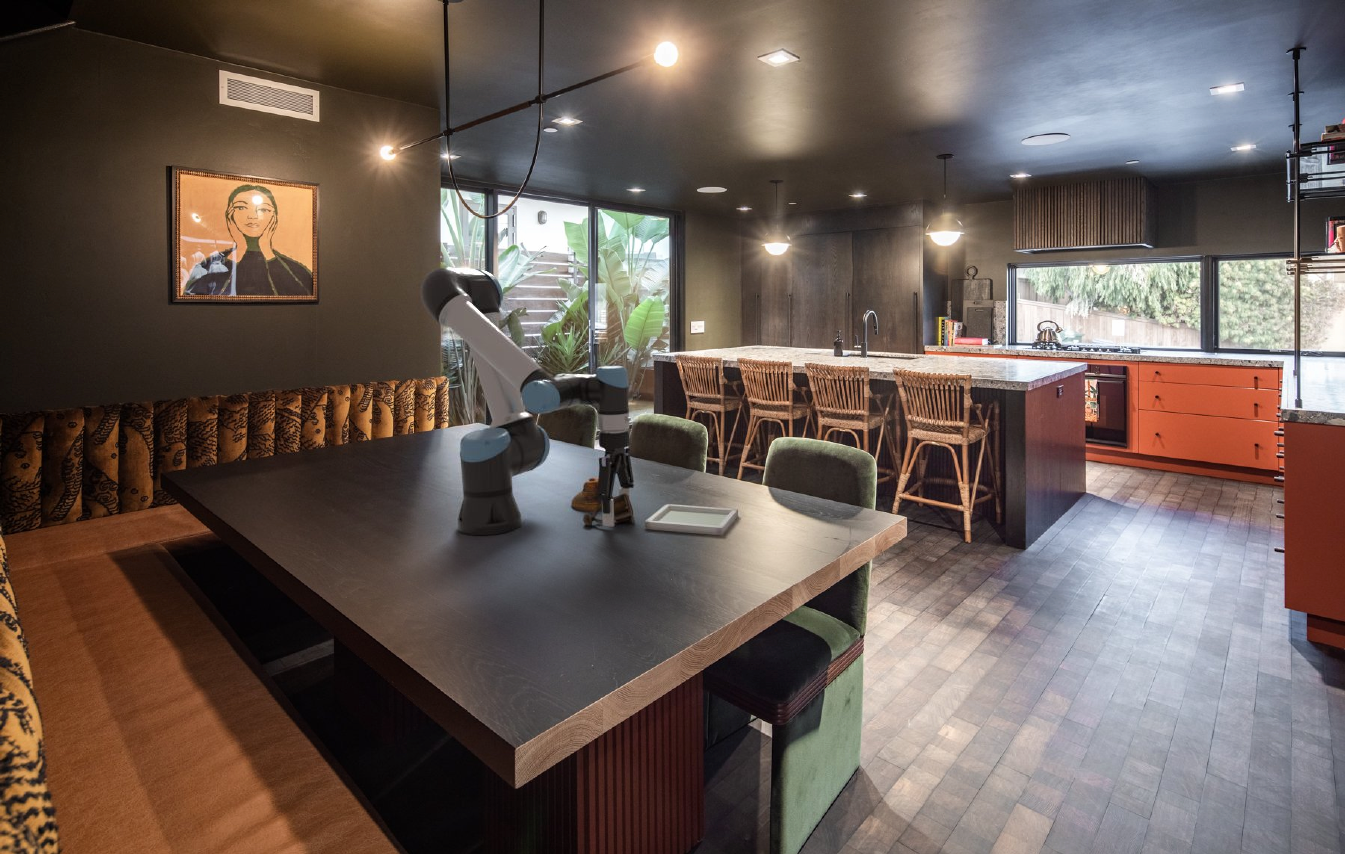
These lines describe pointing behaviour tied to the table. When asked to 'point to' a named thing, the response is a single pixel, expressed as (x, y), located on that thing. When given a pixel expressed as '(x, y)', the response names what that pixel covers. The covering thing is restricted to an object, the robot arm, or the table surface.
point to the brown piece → (621, 511)
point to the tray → (692, 519)
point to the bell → (587, 497)
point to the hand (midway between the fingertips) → (617, 519)
